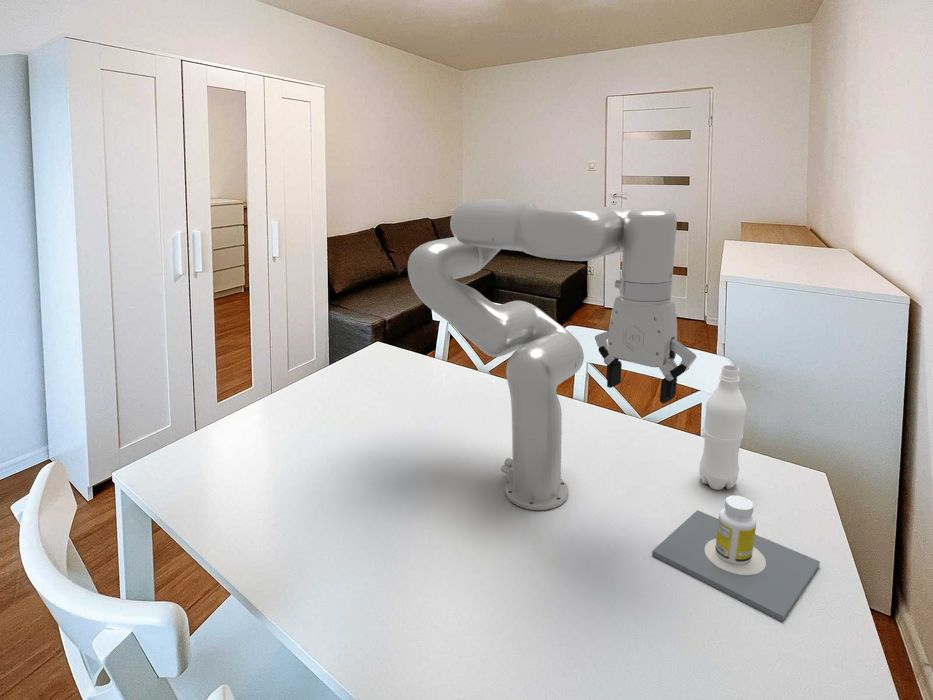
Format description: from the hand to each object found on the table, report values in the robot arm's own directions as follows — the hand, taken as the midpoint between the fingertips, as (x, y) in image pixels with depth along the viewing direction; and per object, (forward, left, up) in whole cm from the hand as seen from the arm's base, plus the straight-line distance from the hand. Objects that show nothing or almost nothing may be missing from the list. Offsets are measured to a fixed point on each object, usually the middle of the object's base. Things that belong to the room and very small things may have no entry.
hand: (639, 392), depth 90 cm
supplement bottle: (+16, +4, -25) cm, 30 cm away
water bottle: (+5, +25, -26) cm, 37 cm away
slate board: (+17, +4, -26) cm, 31 cm away
